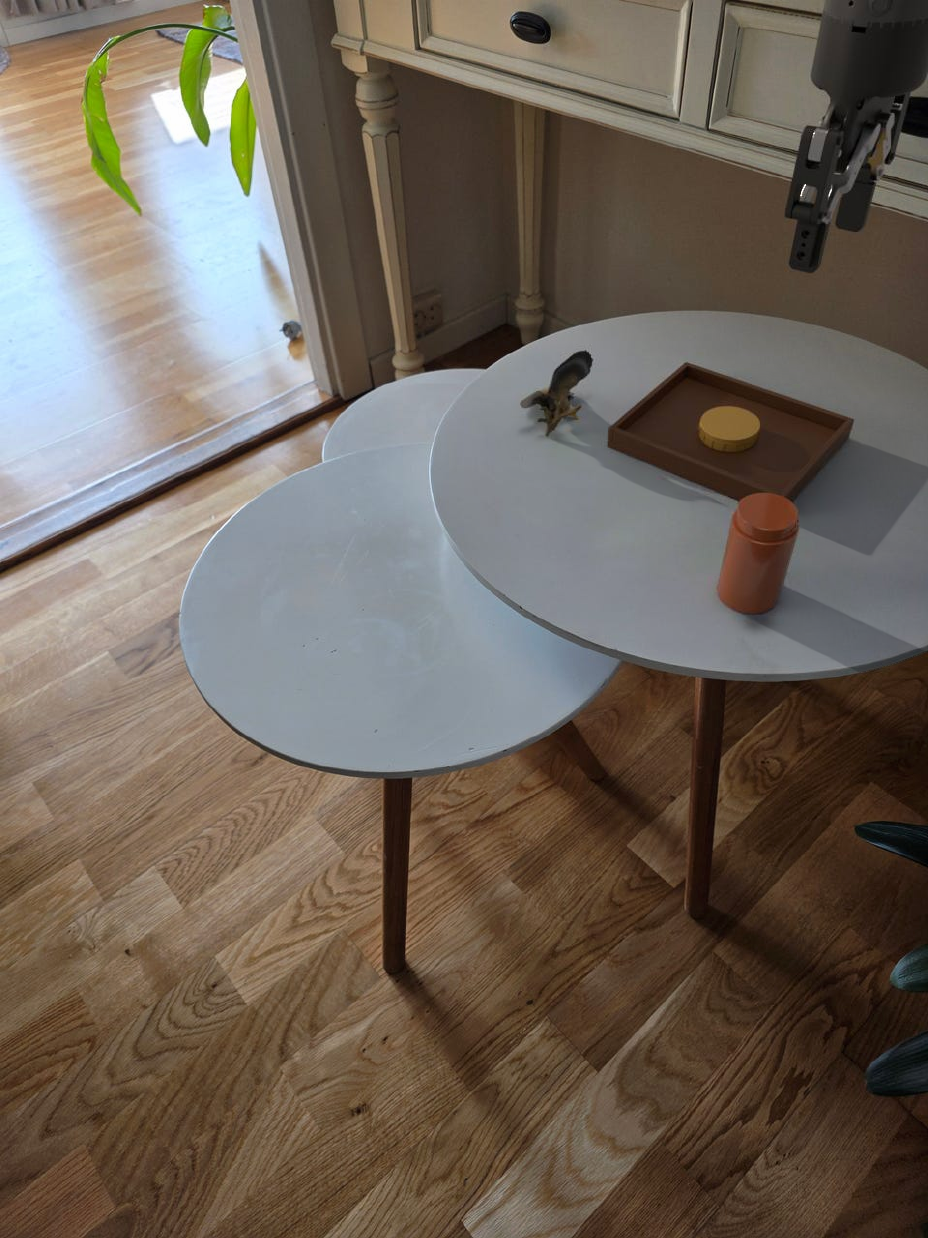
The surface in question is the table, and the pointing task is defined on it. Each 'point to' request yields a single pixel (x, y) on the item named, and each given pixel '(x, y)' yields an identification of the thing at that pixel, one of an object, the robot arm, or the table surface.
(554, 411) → the eagle figurine
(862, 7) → the robot arm
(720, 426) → the jar lid
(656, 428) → the tray
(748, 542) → the jar
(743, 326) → the table surface
